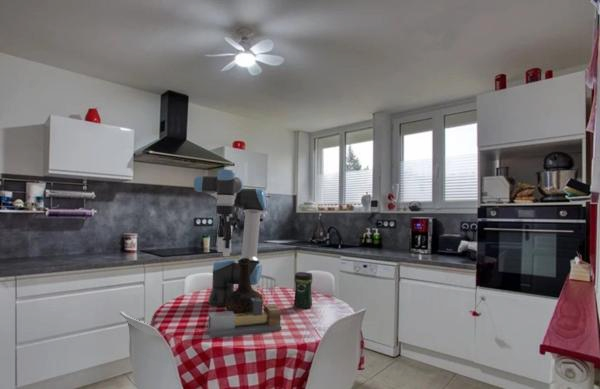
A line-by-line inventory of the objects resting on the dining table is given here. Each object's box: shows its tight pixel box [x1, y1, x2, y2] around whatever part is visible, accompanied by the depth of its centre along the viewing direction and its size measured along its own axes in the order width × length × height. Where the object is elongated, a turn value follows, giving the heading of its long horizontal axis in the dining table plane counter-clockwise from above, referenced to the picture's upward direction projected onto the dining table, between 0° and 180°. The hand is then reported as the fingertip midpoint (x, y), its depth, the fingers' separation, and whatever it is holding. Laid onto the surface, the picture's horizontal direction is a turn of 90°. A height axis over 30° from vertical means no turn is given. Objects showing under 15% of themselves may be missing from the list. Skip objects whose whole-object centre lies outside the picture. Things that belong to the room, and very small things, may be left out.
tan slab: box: [235, 298, 268, 326], centre depth 150 cm, size 6×21×10 cm, turn 113°
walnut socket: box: [263, 303, 282, 327], centre depth 153 cm, size 9×5×7 cm, turn 23°
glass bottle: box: [225, 258, 264, 314], centre depth 167 cm, size 18×18×28 cm
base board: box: [206, 323, 282, 339], centre depth 148 cm, size 12×30×2 cm, turn 113°
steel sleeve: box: [207, 310, 235, 332], centre depth 145 cm, size 6×10×6 cm, turn 113°
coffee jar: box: [293, 271, 313, 309], centre depth 185 cm, size 10×8×19 cm
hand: (223, 253), depth 148 cm, fingers open, 13 cm apart
